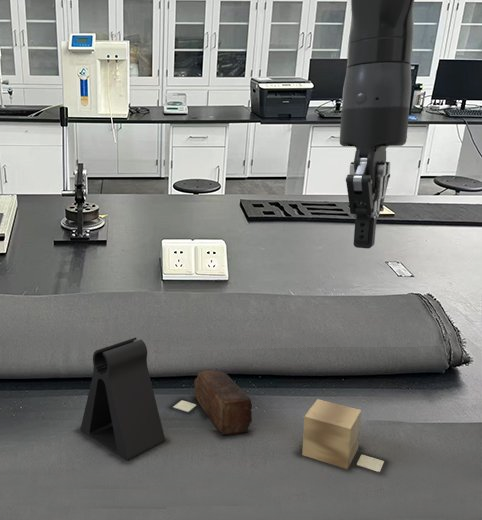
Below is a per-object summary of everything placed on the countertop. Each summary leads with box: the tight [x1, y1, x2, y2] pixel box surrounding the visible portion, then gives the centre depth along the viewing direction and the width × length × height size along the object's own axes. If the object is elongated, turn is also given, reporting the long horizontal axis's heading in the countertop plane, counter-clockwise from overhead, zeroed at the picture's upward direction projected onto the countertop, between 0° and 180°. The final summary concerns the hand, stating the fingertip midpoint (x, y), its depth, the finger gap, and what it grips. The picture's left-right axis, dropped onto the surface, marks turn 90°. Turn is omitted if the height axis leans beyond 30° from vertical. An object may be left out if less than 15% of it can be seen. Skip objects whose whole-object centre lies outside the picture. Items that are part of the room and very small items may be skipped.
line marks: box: [172, 399, 385, 473], centre depth 66 cm, size 26×2×1 cm, turn 55°
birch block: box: [301, 398, 362, 470], centre depth 61 cm, size 5×5×5 cm
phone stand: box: [79, 337, 166, 462], centre depth 64 cm, size 9×6×12 cm, turn 42°
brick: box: [193, 369, 253, 436], centre depth 70 cm, size 11×4×5 cm, turn 13°
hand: (363, 246), depth 68 cm, fingers closed
